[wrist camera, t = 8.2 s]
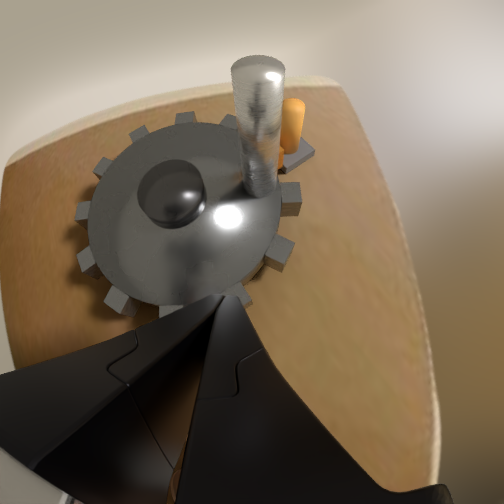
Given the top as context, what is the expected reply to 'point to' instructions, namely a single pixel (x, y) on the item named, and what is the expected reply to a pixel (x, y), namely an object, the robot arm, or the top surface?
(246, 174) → the sprocket
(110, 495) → the robot arm
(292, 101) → the rounded peg on base
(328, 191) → the top surface
